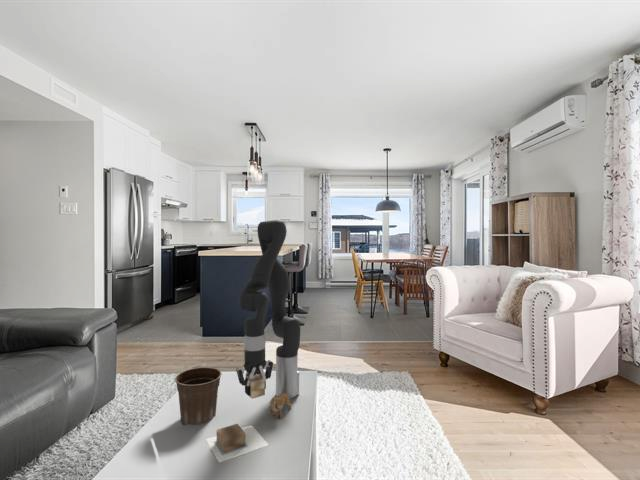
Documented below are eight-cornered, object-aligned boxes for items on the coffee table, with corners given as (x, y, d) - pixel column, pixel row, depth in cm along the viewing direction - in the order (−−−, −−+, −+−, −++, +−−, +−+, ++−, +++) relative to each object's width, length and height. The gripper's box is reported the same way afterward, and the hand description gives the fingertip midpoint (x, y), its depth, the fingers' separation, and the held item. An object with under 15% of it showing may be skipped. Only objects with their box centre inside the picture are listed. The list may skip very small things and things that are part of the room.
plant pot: (206, 433, 118) (207, 386, 118) (164, 427, 121) (165, 382, 121) (228, 410, 134) (229, 369, 134) (191, 406, 137) (191, 365, 137)
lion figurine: (280, 425, 123) (280, 400, 123) (266, 423, 125) (266, 398, 125) (293, 406, 138) (293, 383, 138) (280, 404, 139) (280, 382, 139)
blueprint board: (251, 427, 121) (251, 424, 121) (268, 448, 110) (268, 444, 110) (205, 442, 112) (205, 439, 112) (219, 465, 101) (219, 462, 101)
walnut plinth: (237, 435, 115) (237, 423, 115) (245, 446, 109) (245, 433, 109) (216, 442, 111) (216, 429, 111) (223, 453, 105) (223, 440, 105)
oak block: (258, 389, 129) (258, 374, 129) (264, 394, 125) (264, 378, 125) (246, 393, 126) (246, 377, 126) (252, 398, 122) (251, 382, 122)
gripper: (267, 340, 132) (268, 384, 133) (232, 347, 124) (232, 394, 124) (277, 345, 126) (277, 391, 127) (240, 353, 118) (241, 402, 118)
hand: (255, 392), depth 126 cm, fingers closed on oak block, 5 cm apart
